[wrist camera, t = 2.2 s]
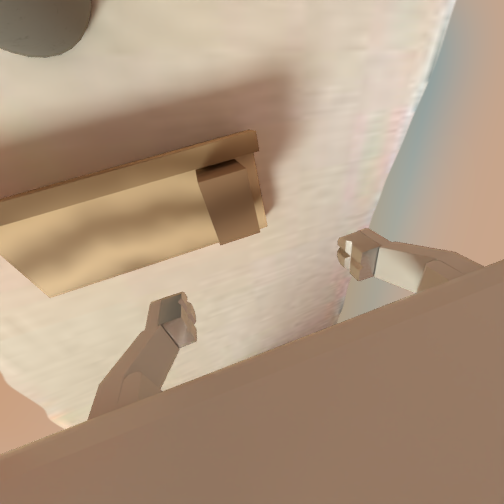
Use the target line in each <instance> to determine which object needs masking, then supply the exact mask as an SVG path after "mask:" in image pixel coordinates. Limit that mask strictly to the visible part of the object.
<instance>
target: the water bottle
mask: <svg viewBox="0 0 504 504" xmlns="http://www.w3.org/2000/svg"><path fill="white" fill-rule="evenodd" d="M90 13H91V0H0V48H1V49H3V50H6V51H9V52H11V53H15V54H19V55H24V56H28V57H43V58H46V57H51V56H56V55H61V54H62V53H64V52H66V51H68V50H70V49H72V48H73V47H74V46H75V45H76V44H77V43H78V42H79V41H80V40H81V38H82V36H83V34H84V32H85V30H86V28H87V26H88V21H89V17H90Z"/></svg>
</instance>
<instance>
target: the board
mask: <svg viewBox="0 0 504 504" xmlns="http://www.w3.org/2000/svg"><path fill="white" fill-rule="evenodd" d="M257 151H259V147H258V141H257V136H256V131H254V130H245V131H242V132H238V133H235V134H231V135H228V136H224V137H220V138H217V139H213V140H210V141H206V142H203V143H199V144H195V145H192V146H188V147H185V148H181V149H177V150H174V151H170V152H167V153H163V154H160V155H156V156H152V157H149V158H145V159H142V160H138V161H134V162H131V163H127V164H124V165H120V166H117V167H113V168H109V169H106V170H102V171H99V172H95V173H92V174H88V175H84V176H81V177H77V178H74V179H70V180H66V181H63V182H59V183H56V184H52V185H49V186H45V187H41V188H38V189H34V190H31V191H27V192H23V193H20V194H16V195H13V196H9V197H6V198H2V199H0V255H1V256H2V257H3V258H5V259H6V260H7V261H8V262H9V263H10V264H11V265H13V266H14V267H15V268H16V269H17V270H18V271H20V272H21V273H22V274H23V275H24V276H25V277H26V278H28V279H29V280H30V281H31V282H32V283H33V284H35V285H36V286H37V287H38V288H39V289H40V290H41V291H43V292H44V293H45V294H46V295H47V296H48V297H50V298H51V297H54V296H57V295H60V294H64V293H67V292H70V291H73V290H76V289H79V288H82V287H85V286H88V285H91V284H94V283H97V282H100V281H103V280H106V279H109V278H112V277H115V276H118V275H121V274H124V273H127V272H130V271H133V270H136V269H139V268H143V267H146V266H149V265H152V264H155V263H158V262H161V261H164V260H167V259H170V258H173V257H176V256H179V255H182V254H185V253H188V252H191V251H194V250H197V249H200V248H203V247H206V246H209V245H212V244H215V243H219V240H218V237H217V234H216V231H215V229H214V226H213V223H212V221H211V218H210V215H209V212H208V210H207V207H206V204H205V202H204V199H203V196H202V193H201V191H200V188H199V185H198V182H197V176H196V171H195V170H198V169H201V168H204V167H208V166H211V165H215V164H218V163H222V162H225V161H228V160H232V159H235V160H236V161H238V162H239V163H240V164H241V165H243V166H244V167H245V168H246V170H247V174H248V179H249V183H250V188H251V192H252V197H253V201H254V206H255V210H256V215H257V219H258V224H259V228H260V229H261V228H264V227H267V221H266V216H265V211H264V206H263V200H262V195H261V190H260V185H259V180H258V175H257V170H256V164H255V159H254V154H253V153H254V152H257Z"/></svg>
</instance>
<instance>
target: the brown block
mask: <svg viewBox="0 0 504 504" xmlns="http://www.w3.org/2000/svg"><path fill="white" fill-rule="evenodd" d="M195 171H196V176H197V182H198V185H199V188H200V191H201V193H202V196H203V199H204V202H205V204H206V207H207V210H208V212H209V215H210V218H211V221H212V223H213V226H214V229H215V231H216V234H217V237H218V240H219V242H220V245H223V244H226V243H229V242H232V241H235V240H238V239H241V238H244V237H247V236H250V235H253V234H256V233H259V232H260V228H259V224H258V219H257V215H256V210H255V206H254V201H253V197H252V192H251V188H250V183H249V179H248V174H247V170H246V168H245V167H244V166H243V165H241V164H240V163H239V162H238V161H236V160H235V159H232V160H228V161H225V162H222V163H218V164H215V165H211V166H208V167H204V168H201V169H198V170H195Z"/></svg>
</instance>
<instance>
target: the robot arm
mask: <svg viewBox="0 0 504 504" xmlns="http://www.w3.org/2000/svg"><path fill="white" fill-rule="evenodd" d="M338 246H339V247H340V248H339V250H338V251H337V257H338V260H339V262H340V264H341V265H342V266H343V267H344V268H346V269H350V274H351V275H352V276H353V277H354V278H355V279H357V280H358V281H361V280H364V279H367V278H370V277H373V276H374V277H376V278H378V279H381V280H383V281H386V282H388V283H391V284H393V285H396V286H398V287H401V288H403V289H406V290H408V291H411V292H413V293H415V294H413V295H410V296H408V297H405V298H403V299H400V300H398V301H395V302H392V303H390V304H387V305H385V306H382V307H380V308H377V309H374V310H372V311H369V312H367V313H364V314H362V315H359V316H356V317H354V318H352V319H349V320H346V321H344V322H341V323H338V324H336V325H333V326H331V327H328V328H325V329H323V330H320V331H318V332H315V333H312V334H310V335H307V336H305V337H302V338H300V339H297V340H294V341H292V342H289V343H287V344H284V345H282V346H279V347H276V348H274V349H271V350H269V351H266V352H263V353H261V354H258V355H256V356H253V357H250V358H248V359H245V360H243V361H240V362H238V363H235V364H232V365H230V366H227V367H225V368H222V369H219V370H217V371H214V372H212V373H209V374H206V375H204V376H201V377H199V378H196V379H194V380H191V381H188V382H186V383H183V384H181V385H178V386H176V387H173V388H170V389H168V390H165V391H162V390H161V387H162V385H163V383H164V381H165V379H166V376H167V374H168V372H169V370H170V368H171V366H172V364H173V362H174V360H175V358H176V356H177V354H178V352H179V348H181V347H184V346H186V345H189V344H191V343H194V342H196V341H197V329H196V327H195V326H194V324H195V322H196V315H195V311H194V308H193V306H192V304H191V303H189V302H187V296H186V294H185V293H184V292H180V293H177V294H174V295H171V296H168V297H165V298H162V299H159V300H156V301H153V302H151V304H150V307H149V312H148V317H147V322H146V327H145V331H142V332H141V333H140V334H139V336H138V337H137V338H136V339H135V341H134V342H133V343H132V344H131V346H130V347H129V348H128V349H127V351H126V352H125V353H124V354H123V356H122V357H121V358H120V359H119V361H118V362H117V363H116V364H115V366H114V367H113V368H112V369H111V370H110V372H109V373H108V374H107V375H106V377H105V378H104V379H103V380H102V382H101V383H100V384H99V387H98V390H97V393H96V396H95V399H94V402H93V405H92V408H91V411H90V414H89V417H88V420H87V421H85V422H83V423H80V424H78V425H75V426H72V427H70V428H67V429H65V430H62V431H60V432H57V433H55V434H52V435H49V436H46V437H44V438H41V439H39V440H36V441H34V442H31V443H29V444H26V445H23V446H21V447H18V448H16V449H13V450H10V451H8V452H5V453H2V454H0V504H504V259H503V260H501V261H498V262H496V263H493V264H491V265H488V266H485V267H484V266H482V265H480V264H478V263H476V262H474V261H472V260H470V259H468V258H466V257H464V256H462V255H460V254H458V253H456V252H452V251H446V250H441V249H435V248H429V247H424V246H418V245H412V244H406V243H400V242H390V241H388V240H387V239H385V238H384V237H382V236H380V235H379V234H377V233H375V232H374V231H372V230H370V229H369V228H364V229H362V230H359V231H357V232H354V233H351V234H349V235H346V236H343V237H340V238H339V239H338Z"/></svg>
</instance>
